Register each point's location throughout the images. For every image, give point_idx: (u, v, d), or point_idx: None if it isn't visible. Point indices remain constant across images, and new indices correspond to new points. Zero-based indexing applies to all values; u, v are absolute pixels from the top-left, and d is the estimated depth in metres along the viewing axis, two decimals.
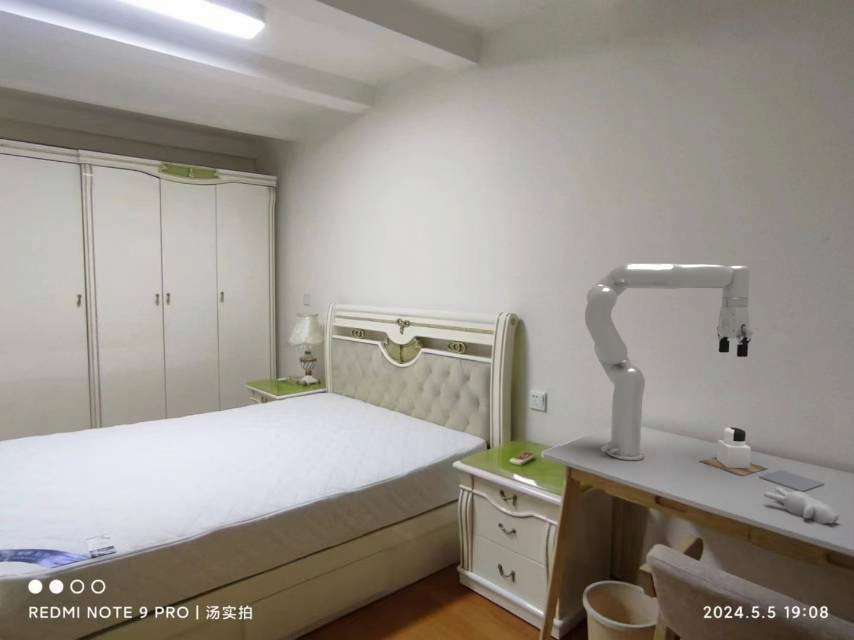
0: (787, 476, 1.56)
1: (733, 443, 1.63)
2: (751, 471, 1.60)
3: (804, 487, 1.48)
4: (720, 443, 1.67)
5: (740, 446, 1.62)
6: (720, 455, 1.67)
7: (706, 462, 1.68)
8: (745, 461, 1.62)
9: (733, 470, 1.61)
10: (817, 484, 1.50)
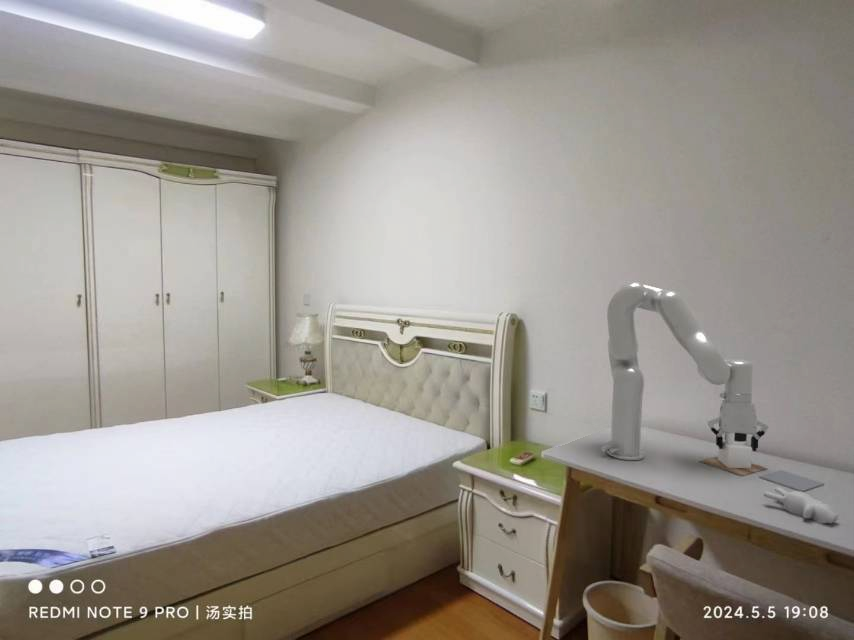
0: (787, 476, 1.56)
1: (734, 443, 1.63)
2: (751, 471, 1.60)
3: (804, 487, 1.48)
4: None
5: (741, 446, 1.62)
6: (721, 455, 1.67)
7: (706, 462, 1.68)
8: (746, 461, 1.62)
9: (733, 470, 1.61)
10: (817, 484, 1.50)
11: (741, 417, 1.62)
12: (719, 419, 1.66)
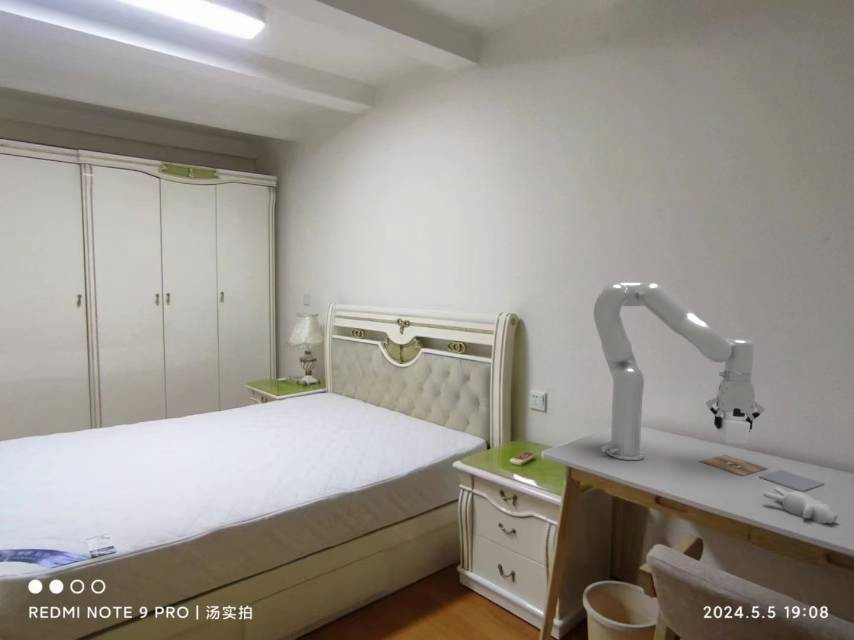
0: (787, 476, 1.56)
1: (732, 418, 1.63)
2: (751, 471, 1.60)
3: (804, 487, 1.48)
4: None
5: (739, 421, 1.62)
6: (719, 430, 1.67)
7: (706, 462, 1.68)
8: (743, 436, 1.62)
9: (733, 470, 1.61)
10: (817, 484, 1.50)
11: (739, 396, 1.62)
12: (717, 398, 1.65)
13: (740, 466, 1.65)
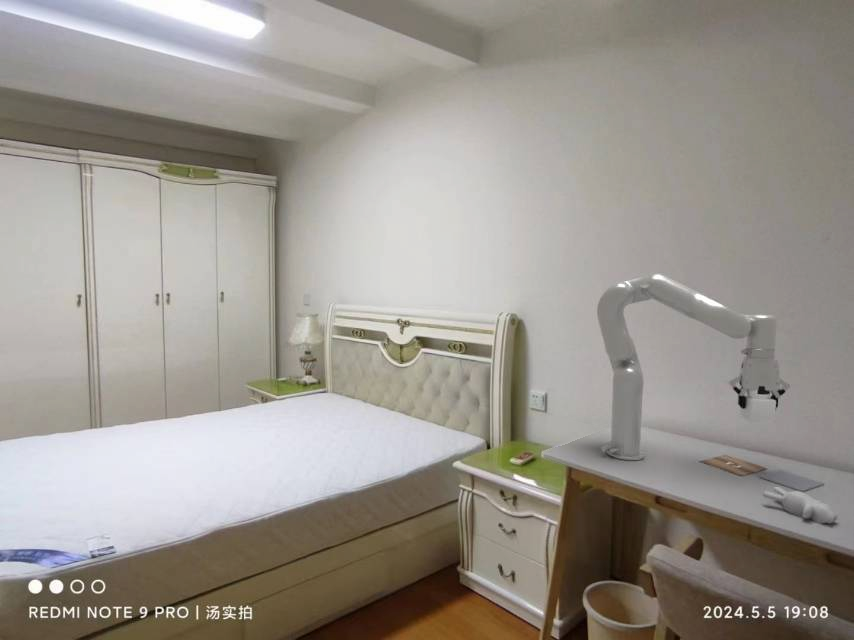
0: (787, 476, 1.56)
1: (757, 396, 1.57)
2: (751, 471, 1.60)
3: (804, 487, 1.48)
4: None
5: (765, 399, 1.57)
6: (743, 410, 1.61)
7: (706, 462, 1.68)
8: (770, 414, 1.56)
9: (733, 470, 1.61)
10: (817, 484, 1.50)
11: (764, 373, 1.56)
12: (740, 377, 1.60)
13: (740, 466, 1.65)
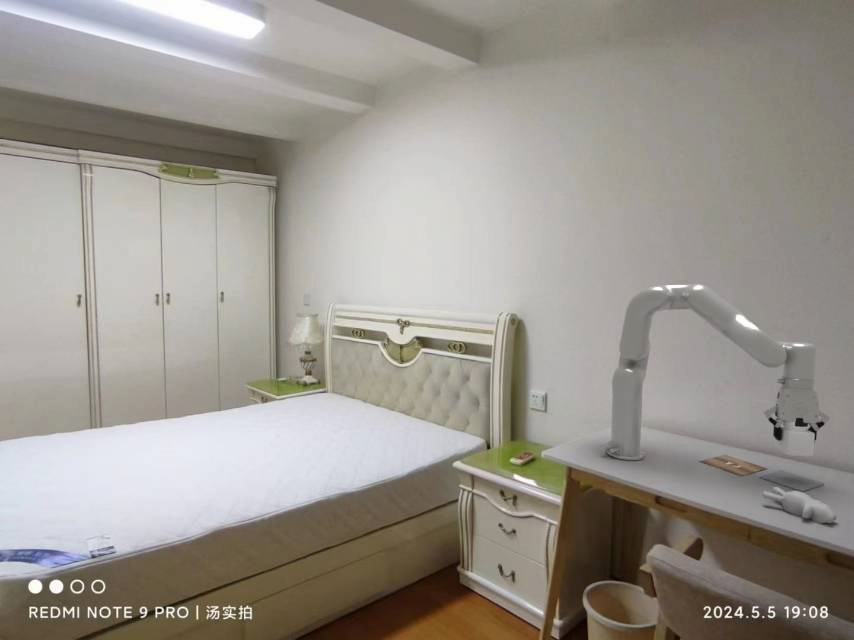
0: (787, 476, 1.56)
1: (795, 428, 1.50)
2: (751, 471, 1.60)
3: (804, 487, 1.48)
4: None
5: (803, 432, 1.49)
6: (779, 441, 1.54)
7: (706, 462, 1.68)
8: (808, 448, 1.49)
9: (733, 470, 1.61)
10: (817, 484, 1.50)
11: (802, 405, 1.49)
12: (776, 407, 1.53)
13: (740, 466, 1.65)
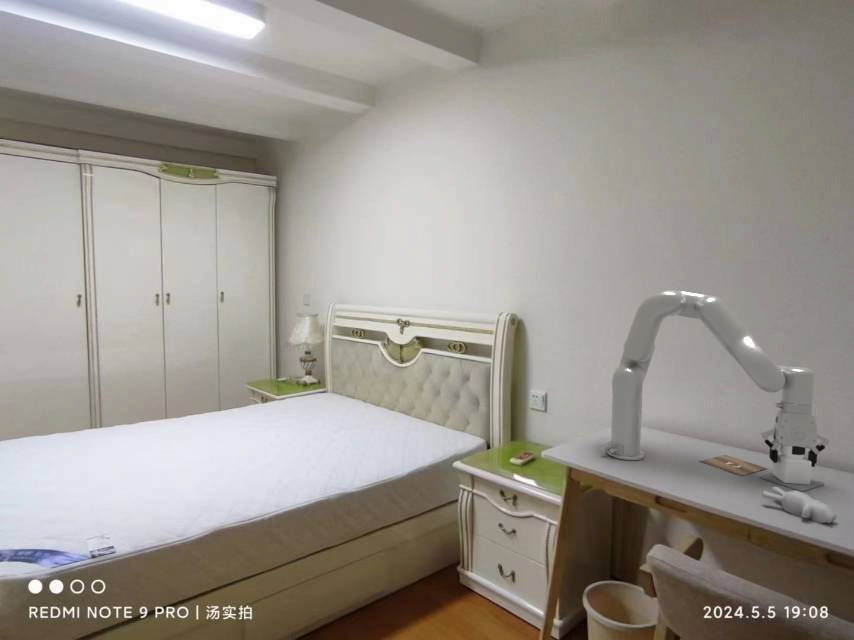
0: None
1: (792, 456, 1.51)
2: (751, 471, 1.60)
3: (804, 487, 1.48)
4: None
5: (799, 460, 1.50)
6: (777, 469, 1.55)
7: (706, 462, 1.68)
8: (805, 476, 1.49)
9: (733, 470, 1.61)
10: (817, 484, 1.50)
11: (800, 429, 1.49)
12: (774, 431, 1.53)
13: (740, 466, 1.65)
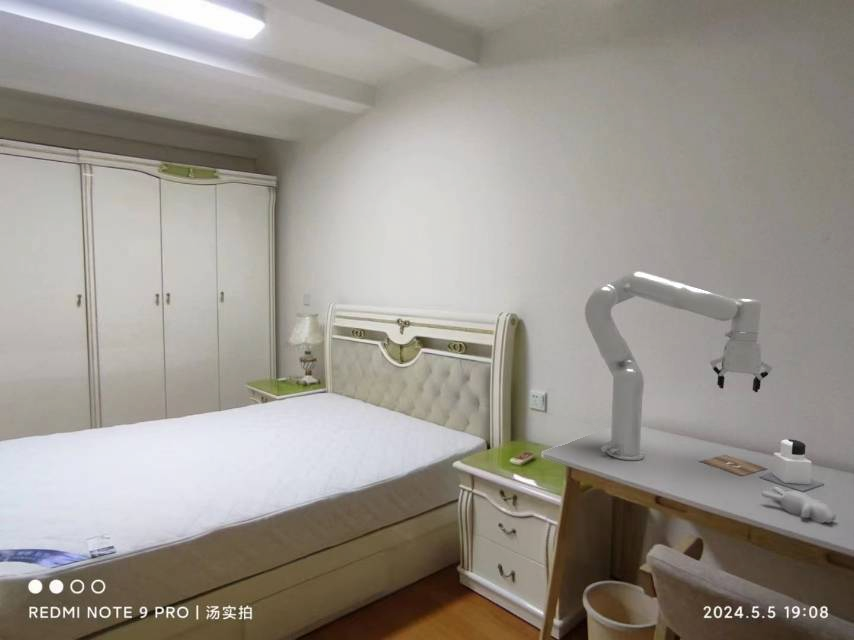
0: None
1: (792, 456, 1.51)
2: (751, 471, 1.60)
3: (804, 487, 1.48)
4: (776, 456, 1.55)
5: (800, 460, 1.50)
6: (777, 469, 1.55)
7: (706, 462, 1.68)
8: (805, 476, 1.49)
9: (733, 470, 1.61)
10: (817, 484, 1.50)
11: (745, 356, 1.59)
12: (722, 358, 1.63)
13: (740, 466, 1.65)
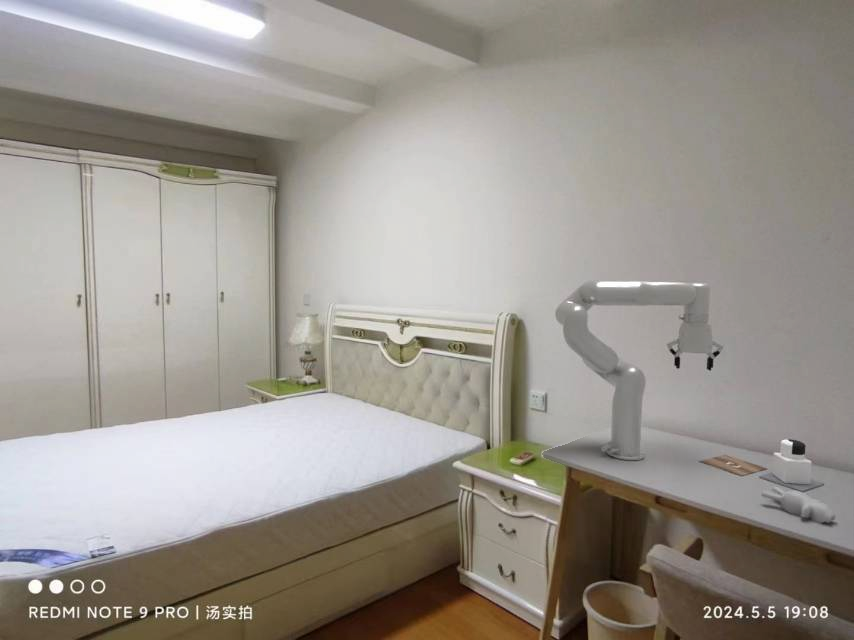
0: None
1: (792, 456, 1.51)
2: (751, 471, 1.60)
3: (804, 487, 1.48)
4: (776, 456, 1.55)
5: (799, 460, 1.50)
6: (777, 469, 1.55)
7: (706, 462, 1.68)
8: (805, 476, 1.49)
9: (733, 470, 1.61)
10: (817, 484, 1.50)
11: (698, 337, 1.70)
12: (677, 340, 1.74)
13: (740, 466, 1.65)
